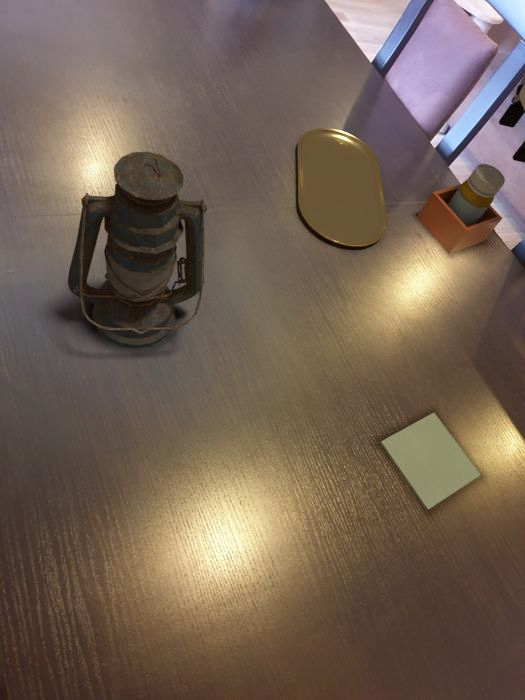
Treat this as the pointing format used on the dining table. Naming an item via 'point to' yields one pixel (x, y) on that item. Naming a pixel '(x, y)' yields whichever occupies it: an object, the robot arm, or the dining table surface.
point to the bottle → (476, 193)
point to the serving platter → (340, 188)
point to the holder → (454, 222)
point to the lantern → (140, 252)
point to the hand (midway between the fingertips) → (512, 142)
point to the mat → (430, 460)
